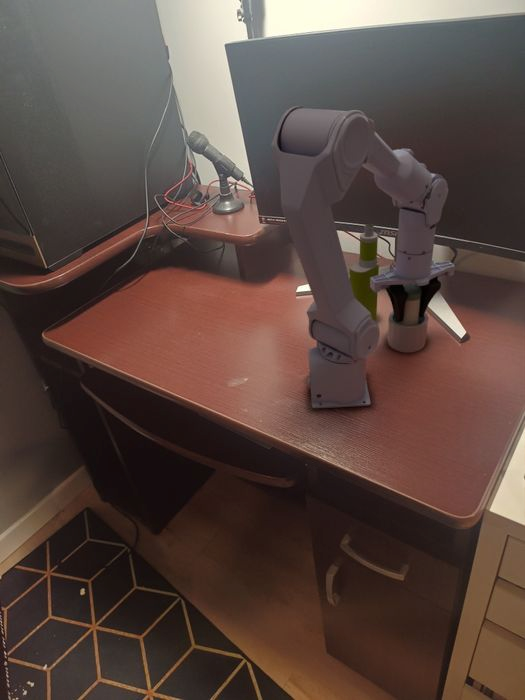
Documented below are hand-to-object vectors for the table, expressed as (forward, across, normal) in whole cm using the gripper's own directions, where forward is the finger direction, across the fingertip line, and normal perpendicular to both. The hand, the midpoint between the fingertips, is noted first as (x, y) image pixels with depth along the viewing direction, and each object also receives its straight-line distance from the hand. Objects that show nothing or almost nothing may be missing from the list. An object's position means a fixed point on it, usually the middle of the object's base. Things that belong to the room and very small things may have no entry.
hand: (408, 316), depth 84 cm
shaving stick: (+2, 0, 0) cm, 2 cm away
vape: (+6, -5, +10) cm, 12 cm away
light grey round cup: (+6, 0, 0) cm, 6 cm away
